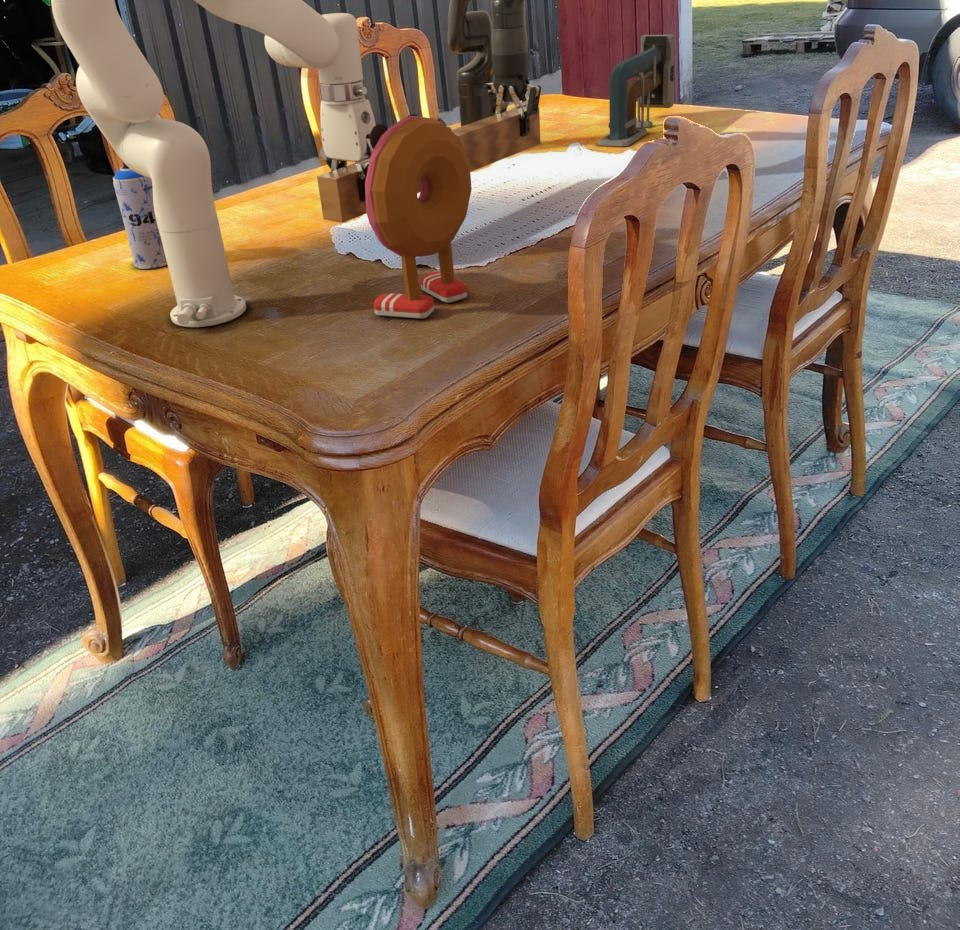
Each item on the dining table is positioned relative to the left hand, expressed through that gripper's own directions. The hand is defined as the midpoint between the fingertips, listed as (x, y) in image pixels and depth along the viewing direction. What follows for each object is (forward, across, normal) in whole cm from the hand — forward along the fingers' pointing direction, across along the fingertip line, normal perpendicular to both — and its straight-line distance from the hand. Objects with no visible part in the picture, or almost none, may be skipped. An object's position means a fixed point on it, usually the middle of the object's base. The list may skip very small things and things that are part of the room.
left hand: (355, 196), depth 176 cm
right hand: (-1, 0, -50) cm, 50 cm away
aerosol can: (+13, +40, +18) cm, 45 cm away
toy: (+13, -25, +11) cm, 30 cm away
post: (+2, 0, -25) cm, 25 cm away
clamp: (+10, +5, -113) cm, 113 cm away
